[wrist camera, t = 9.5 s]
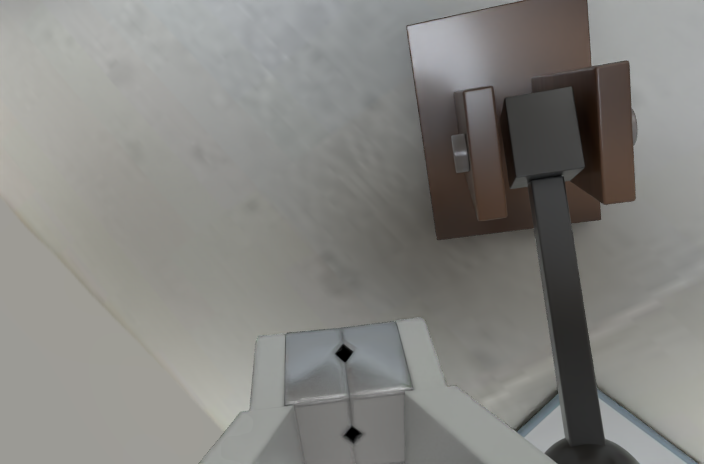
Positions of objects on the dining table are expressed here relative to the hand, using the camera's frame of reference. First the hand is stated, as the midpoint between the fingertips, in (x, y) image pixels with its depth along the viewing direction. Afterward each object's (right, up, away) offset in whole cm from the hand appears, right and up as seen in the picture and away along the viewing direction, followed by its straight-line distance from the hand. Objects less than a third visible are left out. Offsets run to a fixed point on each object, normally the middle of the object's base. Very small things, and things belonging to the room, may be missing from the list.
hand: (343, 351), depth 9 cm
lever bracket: (+9, +8, +19) cm, 23 cm away
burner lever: (+8, -1, +10) cm, 13 cm away
